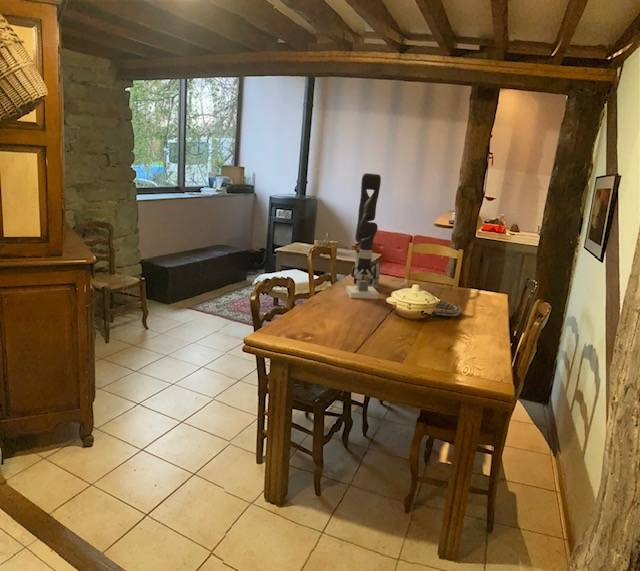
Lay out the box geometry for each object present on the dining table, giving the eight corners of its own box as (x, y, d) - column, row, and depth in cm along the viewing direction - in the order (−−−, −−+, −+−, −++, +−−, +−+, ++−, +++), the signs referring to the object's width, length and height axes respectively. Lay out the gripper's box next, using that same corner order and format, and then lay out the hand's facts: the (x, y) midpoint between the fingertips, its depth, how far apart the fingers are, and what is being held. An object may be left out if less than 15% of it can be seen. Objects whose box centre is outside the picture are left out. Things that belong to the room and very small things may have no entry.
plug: (356, 292, 282) (357, 279, 280) (365, 293, 283) (366, 280, 281) (358, 295, 277) (359, 281, 275) (367, 295, 278) (368, 282, 276)
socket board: (345, 290, 287) (346, 285, 286) (372, 291, 289) (372, 286, 288) (350, 297, 271) (351, 292, 270) (378, 298, 273) (378, 293, 273)
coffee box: (378, 287, 300) (381, 262, 296) (373, 289, 294) (376, 263, 291) (365, 284, 304) (367, 259, 301) (360, 286, 299) (363, 261, 295)
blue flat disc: (438, 303, 274) (439, 295, 273) (478, 318, 253) (479, 309, 252) (403, 309, 258) (404, 300, 256) (443, 325, 236) (444, 316, 235)
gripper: (375, 256, 279) (373, 283, 283) (351, 255, 277) (349, 282, 281) (379, 258, 272) (376, 286, 276) (354, 257, 270) (351, 285, 274)
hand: (362, 284), depth 279 cm, fingers open, 8 cm apart
